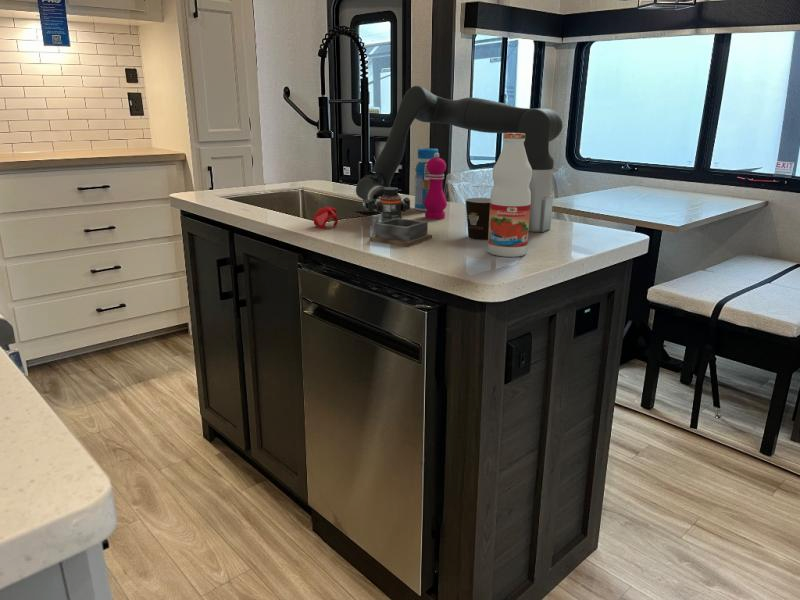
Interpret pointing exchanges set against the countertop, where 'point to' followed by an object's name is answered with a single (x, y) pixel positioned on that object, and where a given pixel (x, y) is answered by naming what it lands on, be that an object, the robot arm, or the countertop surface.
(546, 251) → the countertop surface
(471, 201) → the coffee mug
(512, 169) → the fruit juice
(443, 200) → the pepper mill
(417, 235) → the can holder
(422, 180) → the beverage bottle
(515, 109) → the robot arm
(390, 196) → the supplement bottle
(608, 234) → the countertop surface
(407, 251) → the countertop surface
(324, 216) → the red toy crab
